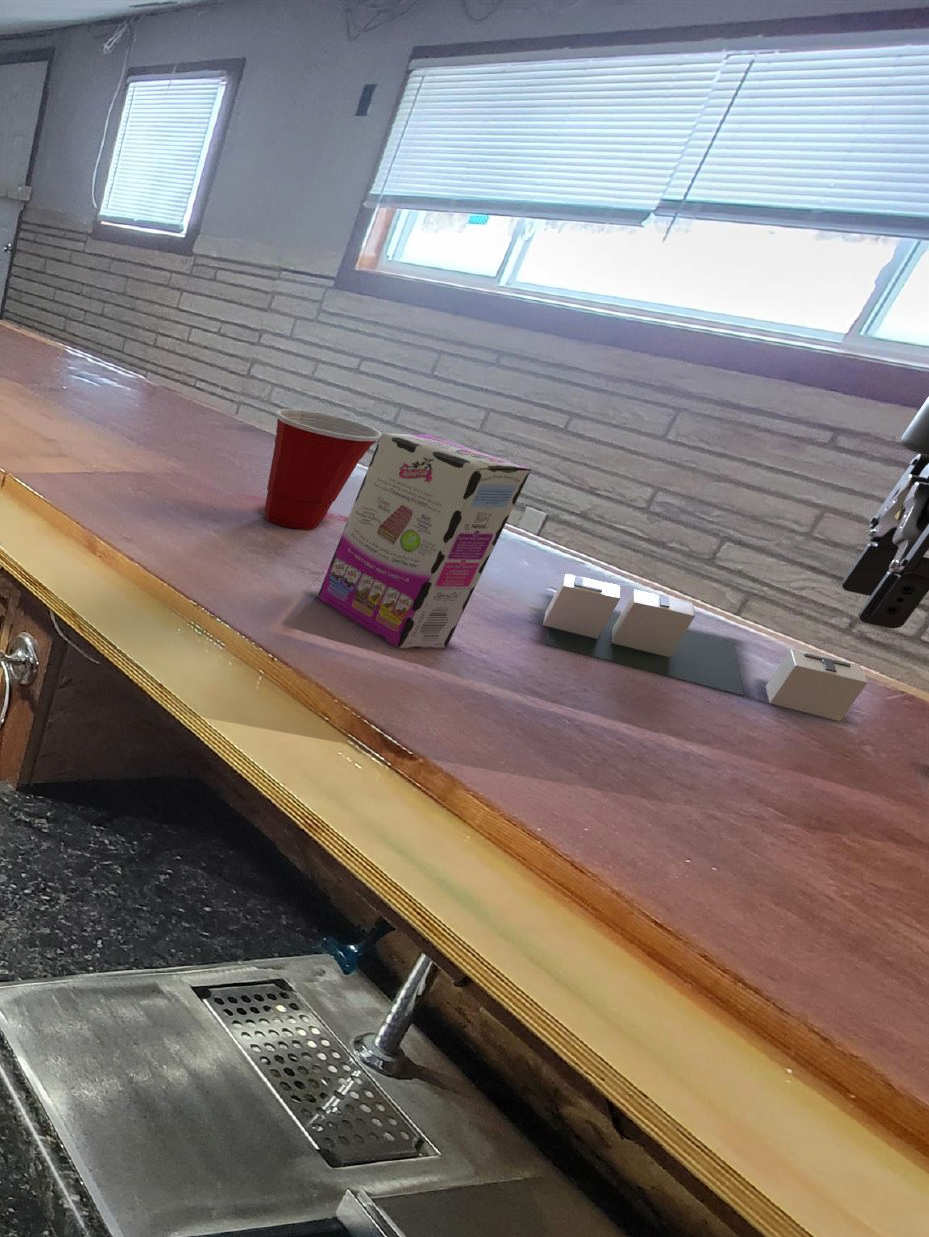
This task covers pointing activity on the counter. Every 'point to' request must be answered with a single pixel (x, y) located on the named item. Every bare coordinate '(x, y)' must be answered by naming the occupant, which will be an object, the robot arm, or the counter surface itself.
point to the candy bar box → (420, 537)
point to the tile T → (816, 684)
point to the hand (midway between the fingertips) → (867, 607)
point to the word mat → (689, 661)
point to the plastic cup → (312, 465)
